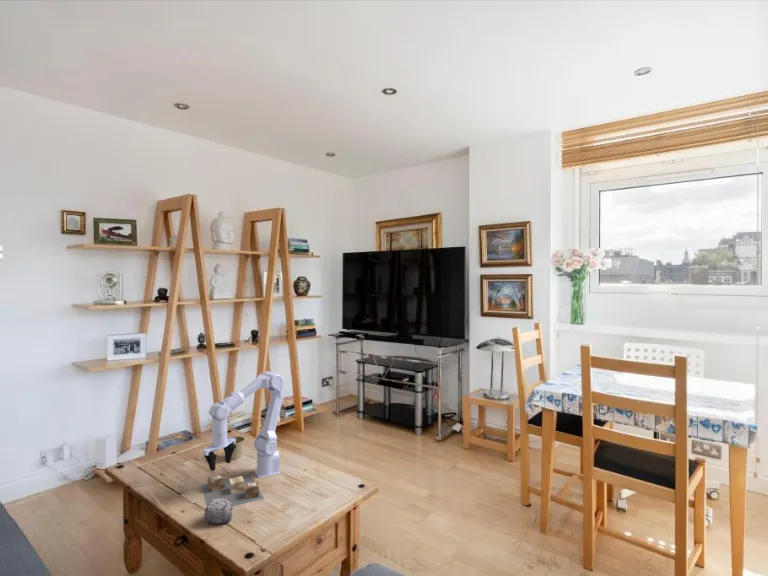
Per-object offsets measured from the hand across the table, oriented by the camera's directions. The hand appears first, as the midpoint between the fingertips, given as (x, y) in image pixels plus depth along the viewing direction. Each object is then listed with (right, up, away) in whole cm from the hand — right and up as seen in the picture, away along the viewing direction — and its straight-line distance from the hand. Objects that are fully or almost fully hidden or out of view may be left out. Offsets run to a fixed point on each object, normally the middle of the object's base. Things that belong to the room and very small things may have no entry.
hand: (220, 466), depth 170 cm
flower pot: (-5, -9, +31) cm, 32 cm away
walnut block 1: (-2, -9, +1) cm, 9 cm away
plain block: (+7, -9, -1) cm, 12 cm away
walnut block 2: (+14, -9, -5) cm, 18 cm away
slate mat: (+5, -10, -2) cm, 11 cm away
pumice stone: (+8, -10, -22) cm, 25 cm away
